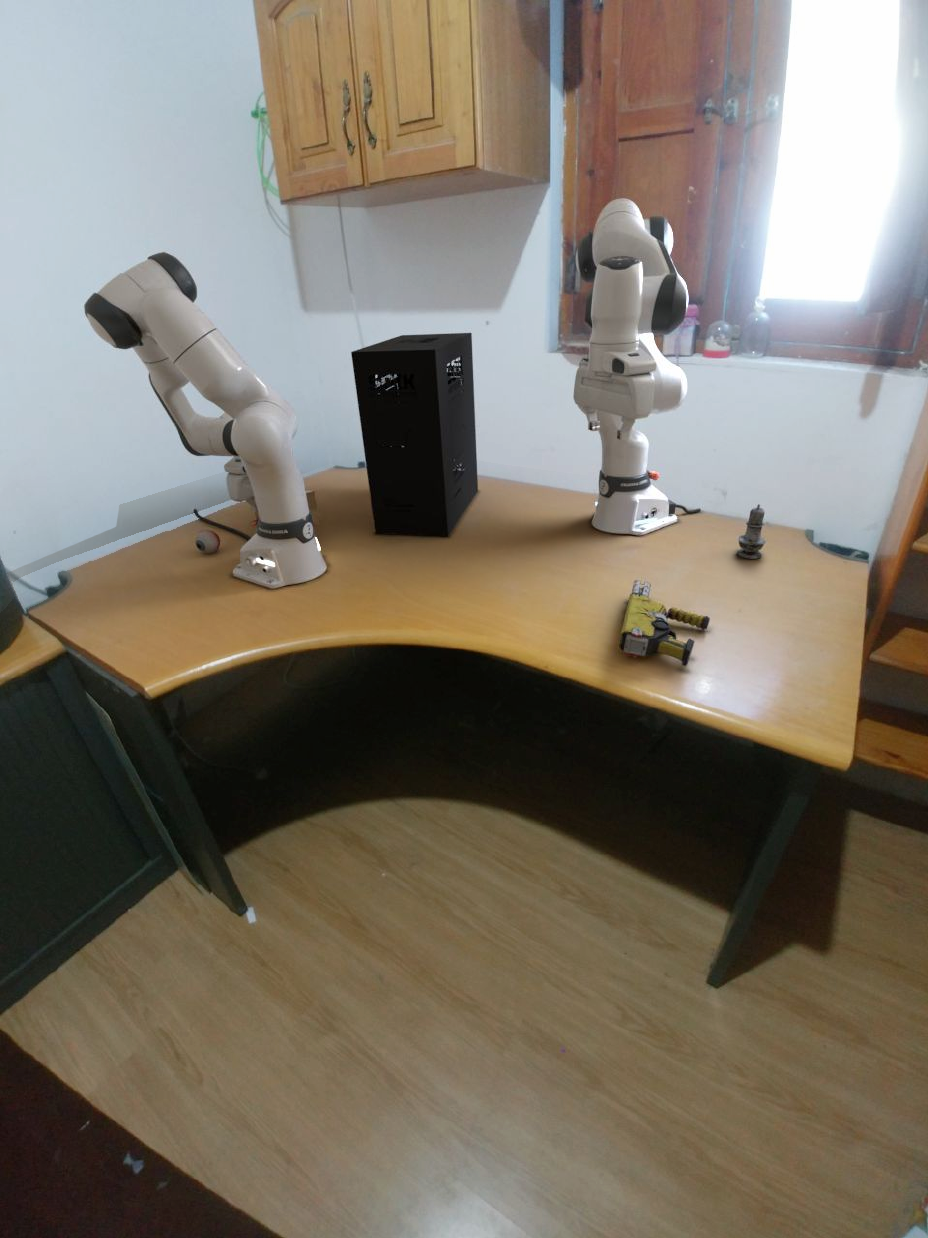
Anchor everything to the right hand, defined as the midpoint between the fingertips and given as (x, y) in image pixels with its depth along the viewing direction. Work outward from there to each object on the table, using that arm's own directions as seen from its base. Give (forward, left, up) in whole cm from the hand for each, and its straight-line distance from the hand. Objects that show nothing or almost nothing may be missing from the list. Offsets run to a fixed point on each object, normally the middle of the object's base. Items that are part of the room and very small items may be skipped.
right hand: (607, 434), depth 118 cm
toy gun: (+3, +25, -31) cm, 40 cm away
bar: (+56, -67, -28) cm, 92 cm away
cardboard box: (+16, -60, -31) cm, 69 cm away
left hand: (+60, -78, -27) cm, 102 cm away
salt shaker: (-36, +8, -31) cm, 48 cm away
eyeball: (+77, -62, -31) cm, 103 cm away
